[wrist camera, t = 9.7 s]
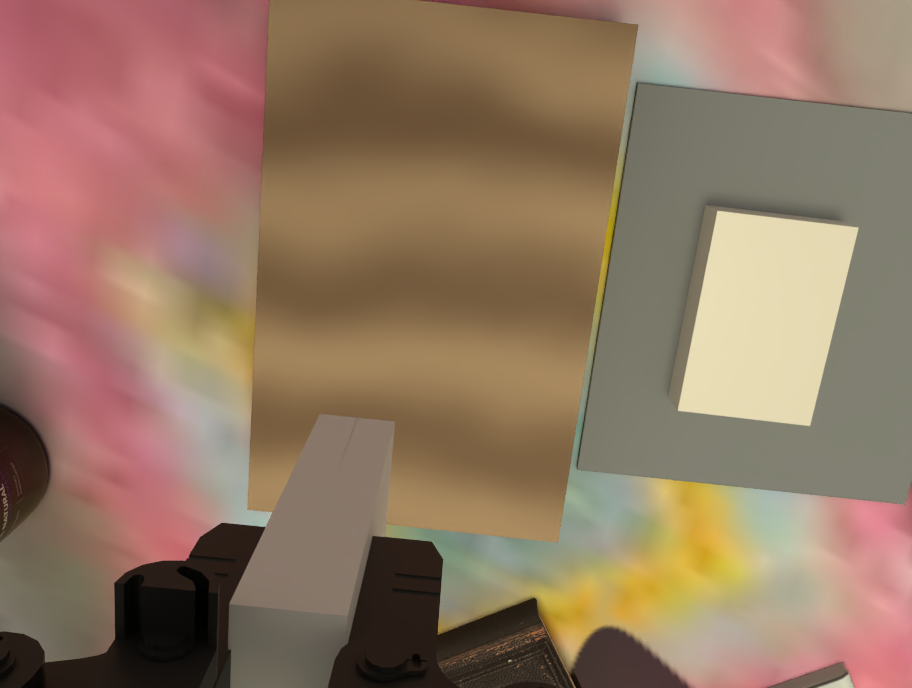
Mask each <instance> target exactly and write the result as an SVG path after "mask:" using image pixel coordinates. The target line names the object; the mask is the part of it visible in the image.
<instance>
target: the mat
mask: <svg viewBox="0 0 912 688" xmlns="http://www.w3.org/2000/svg"><path fill="white" fill-rule="evenodd" d="M705 205H711V206H720V207H728V208H736V209H745V210H753V211H762V212H770V213H779V214H787V215H795V216H804V217H812V218H821V219H829V220H838V221H842V222H845V223H847V224H850V225H853V226H856V227H859V229H858V233H857V237H856V241H855V245H854V249H853V253H852V257H851V261H850V265H849V269H848V273H847V278H846V282H845V286H844V290H843V294H842V298H841V302H840V306H839V310H838V314H837V318H836V322H835V326H834V330H833V335H832V339H831V343H830V347H829V351H828V355H827V359H826V363H825V367H824V371H823V375H822V379H821V383H820V387H819V392H818V396H817V400H816V404H815V408H814V412H813V416H812V420H811V424H810V426H805V425H796V424H788V423H779V422H770V421H762V420H753V419H745V418H736V417H727V416H719V415H710V414H701V413H693V412H684V411H678V410H677V409H676V407H675V406H674V404H673V403H672V401H671V399H670V398H669V396H668V394H669V389H670V384H671V379H672V374H673V369H674V364H675V358H676V353H677V348H678V343H679V338H680V333H681V328H682V322H683V317H684V312H685V307H686V302H687V297H688V292H689V287H690V281H691V276H692V271H693V266H694V261H695V256H696V251H697V245H698V240H699V235H700V230H701V225H702V220H703V215H704V209H705ZM577 470H585V471H594V472H604V473H613V474H623V475H632V476H641V477H651V478H660V479H670V480H679V481H688V482H698V483H707V484H716V485H726V486H735V487H745V488H754V489H763V490H773V491H782V492H792V493H801V494H810V495H820V496H829V497H839V498H848V499H857V500H867V501H876V502H885V503H895V504H904V505H905V502H906V499H907V495H908V491H909V488H910V484H911V480H912V114H911V113H902V112H893V111H884V110H875V109H866V108H857V107H848V106H839V105H830V104H821V103H812V102H803V101H794V100H785V99H776V98H767V97H758V96H749V95H740V94H731V93H722V92H713V91H704V90H695V89H685V88H676V87H667V86H658V85H649V84H640V83H637V87H636V94H635V100H634V106H633V113H632V119H631V125H630V132H629V138H628V144H627V151H626V157H625V164H624V170H623V176H622V183H621V189H620V195H619V202H618V208H617V214H616V221H615V227H614V233H613V240H612V246H611V252H610V259H609V265H608V272H607V278H606V284H605V291H604V297H603V303H602V310H601V316H600V322H599V329H598V335H597V341H596V348H595V354H594V360H593V367H592V373H591V379H590V386H589V392H588V399H587V405H586V411H585V418H584V424H583V430H582V437H581V443H580V449H579V456H578V462H577Z"/></svg>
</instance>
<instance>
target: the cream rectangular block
mask: <svg viewBox="0 0 912 688" xmlns="http://www.w3.org/2000/svg"><path fill="white" fill-rule="evenodd" d="M858 229H859V227H856V226H853V225H850V224H847V223H845V222H842V221H838V220H829V219H821V218H812V217H804V216H795V215H787V214H779V213H770V212H762V211H753V210H745V209H736V208H728V207H720V206H711V205H705V209H704V215H703V220H702V225H701V230H700V235H699V240H698V245H697V251H696V256H695V261H694V266H693V271H692V276H691V281H690V287H689V292H688V297H687V302H686V307H685V312H684V317H683V322H682V328H681V333H680V338H679V343H678V348H677V353H676V358H675V364H674V369H673V374H672V379H671V384H670V389H669V394H668V396H669V398H670V399H671V401H672V403H673V404H674V406H675V407H676V409H677V410H678V411H684V412H693V413H701V414H710V415H719V416H727V417H736V418H745V419H753V420H762V421H770V422H779V423H788V424H796V425H805V426H810V424H811V420H812V416H813V412H814V408H815V404H816V400H817V396H818V392H819V387H820V383H821V379H822V375H823V371H824V367H825V363H826V359H827V355H828V351H829V347H830V343H831V339H832V335H833V330H834V326H835V322H836V318H837V314H838V310H839V306H840V302H841V298H842V294H843V290H844V286H845V282H846V278H847V273H848V269H849V265H850V261H851V257H852V253H853V249H854V245H855V241H856V237H857V233H858Z"/></svg>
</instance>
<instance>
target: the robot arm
mask: <svg viewBox="0 0 912 688" xmlns="http://www.w3.org/2000/svg"><path fill="white" fill-rule="evenodd" d="M394 427H395V421H385V420H375V419H365V418H356V417H346V416H336V415H326V414H319V416H318V419H317V421H316V423H315V425H314V427H313V429H312V431H311V433H310V435H309V437H308V440H307V442H306V444H305V446H304V448H303V450H302V452H301V454H300V456H299V458H298V461H297V463H296V465H295V467H294V469H293V471H292V473H291V475H290V477H289V479H288V482H287V484H286V486H285V488H284V490H283V492H282V494H281V496H280V498H279V500H278V502H277V505H276V507H275V509H274V511H273V513H272V515H271V517H270V519H269V521H268V523H267V526H266V527H259V526H249V525H239V524H229V523H221V524H219V525H218V526H216V527H215V528H213V529H212V530H210V531H209V532H207V533H206V534H204V535H203V536H201V537H200V538H199V540H198V542H197V543H196V545H195V546H194V548H193V550H192V551H191V553H190V555H189V558H187V560H186V561H159V562H155V563H150V564H145V565H142V566H139V567H137V568H135V569H133V570H131V571H128V572H126V573H125V574H124V575H123V576H122V577H120V578H119V579H118V580H117V581H116V582H115V583H114V588H115V640H114V641H113V643H112V644H111V646H110V647H109V649H108V651H107V652H106V653H104V654H101V655H98V656H92V657H87V658H81V659H73V660H64V661H55V662H46V663H45V654H44V650H43V649H42V647H41V645H40V644H39V642H38V641H37V640H35V639H33V638H31V637H29V636H27V635H25V634H19V633H12V632H0V688H460V687H458V686H457V685H455V684H454V683H452V682H451V681H450V680H449V679H448V678H447V677H446V676H445V675H444V674H443V672H442V671H441V669H440V667H439V665H438V663H437V657H436V646H437V633H438V619H439V606H440V592H441V578H442V565H443V559H442V557H441V555H440V554H439V552H438V551H437V549H436V548H435V546H434V544H433V543H432V542H429V541H419V540H409V539H399V538H390V537H385V533H386V522H387V510H388V498H389V486H390V474H391V463H392V451H393V439H394ZM503 688H559V687H556V686H553V685H550V684H547V683H541V682H527V681H524V682H519V683H515V684H510V685H506V686H505V687H503Z"/></svg>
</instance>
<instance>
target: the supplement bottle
mask: <svg viewBox="0 0 912 688" xmlns="http://www.w3.org/2000/svg"><path fill="white" fill-rule="evenodd" d="M47 480H48V467H47V460H46V456H45V453H44V450H43V448H42V445H41V443H40V442H39V440H38V438H37V437H36V435H35V434H34V432H33V431H32V430H31V429H30V428H29V427H28V426H27V425H26V424H25V422H23V421H22V420H21V419H20V418H18V417H17V416H16V415H14V414H13V413H11V412H9V411H8V410H5V409H3V408H1V407H0V542H1V541H2V540H3V539H5V538H6V537H7V536H8V535H9V534H10V533H11V532H12V531H13V530H14V529H15V528H17V527H18V526H19V525H20V524H21V523H22V522H23V521H24V520H25V519H26V518H27V517H28V516H29V515H30V514H31V513H32V512H33V511H34V509H35V508H36V507H37V506H38V504H39V503H40V501H41V499H42V497H43V495H44V492H45V489H46V485H47Z"/></svg>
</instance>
